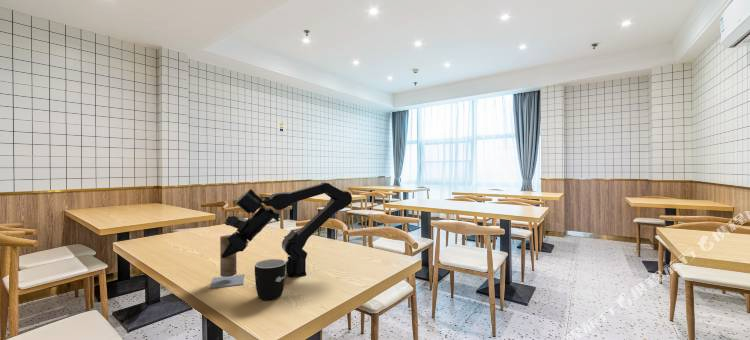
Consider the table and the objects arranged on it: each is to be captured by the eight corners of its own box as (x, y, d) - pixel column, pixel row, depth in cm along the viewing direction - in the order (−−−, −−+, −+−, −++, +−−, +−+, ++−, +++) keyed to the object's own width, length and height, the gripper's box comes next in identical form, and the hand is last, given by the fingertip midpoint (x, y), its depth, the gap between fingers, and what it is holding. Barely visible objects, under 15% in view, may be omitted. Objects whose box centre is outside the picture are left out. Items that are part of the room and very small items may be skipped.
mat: (244, 275, 112) (244, 274, 112) (243, 284, 103) (243, 283, 103) (213, 278, 108) (213, 277, 108) (209, 288, 99) (209, 287, 99)
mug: (276, 304, 88) (276, 268, 88) (248, 301, 89) (248, 266, 90) (295, 288, 99) (295, 257, 100) (269, 286, 101) (270, 255, 101)
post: (234, 270, 109) (234, 234, 109) (237, 274, 105) (237, 236, 105) (219, 273, 106) (219, 236, 106) (221, 277, 102) (221, 238, 102)
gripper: (245, 203, 115) (213, 234, 113) (234, 209, 97) (196, 246, 95) (267, 223, 117) (236, 254, 115) (260, 233, 99) (224, 269, 97)
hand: (224, 255), depth 105 cm, fingers closed on post, 5 cm apart
